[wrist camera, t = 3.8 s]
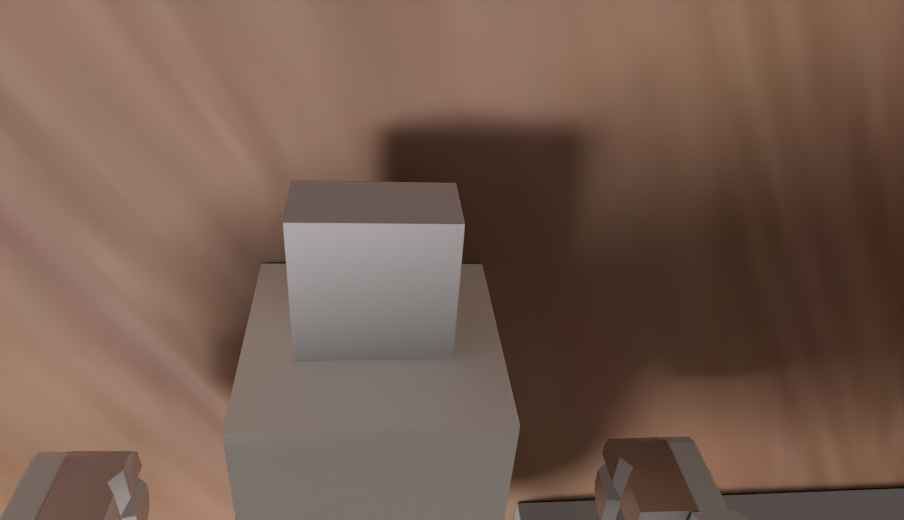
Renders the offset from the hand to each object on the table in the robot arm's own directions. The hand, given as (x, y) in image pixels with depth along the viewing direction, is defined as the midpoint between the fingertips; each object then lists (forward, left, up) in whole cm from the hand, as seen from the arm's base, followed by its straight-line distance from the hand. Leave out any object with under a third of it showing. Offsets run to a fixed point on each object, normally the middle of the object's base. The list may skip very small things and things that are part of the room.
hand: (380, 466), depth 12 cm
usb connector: (0, 0, -2) cm, 2 cm away
